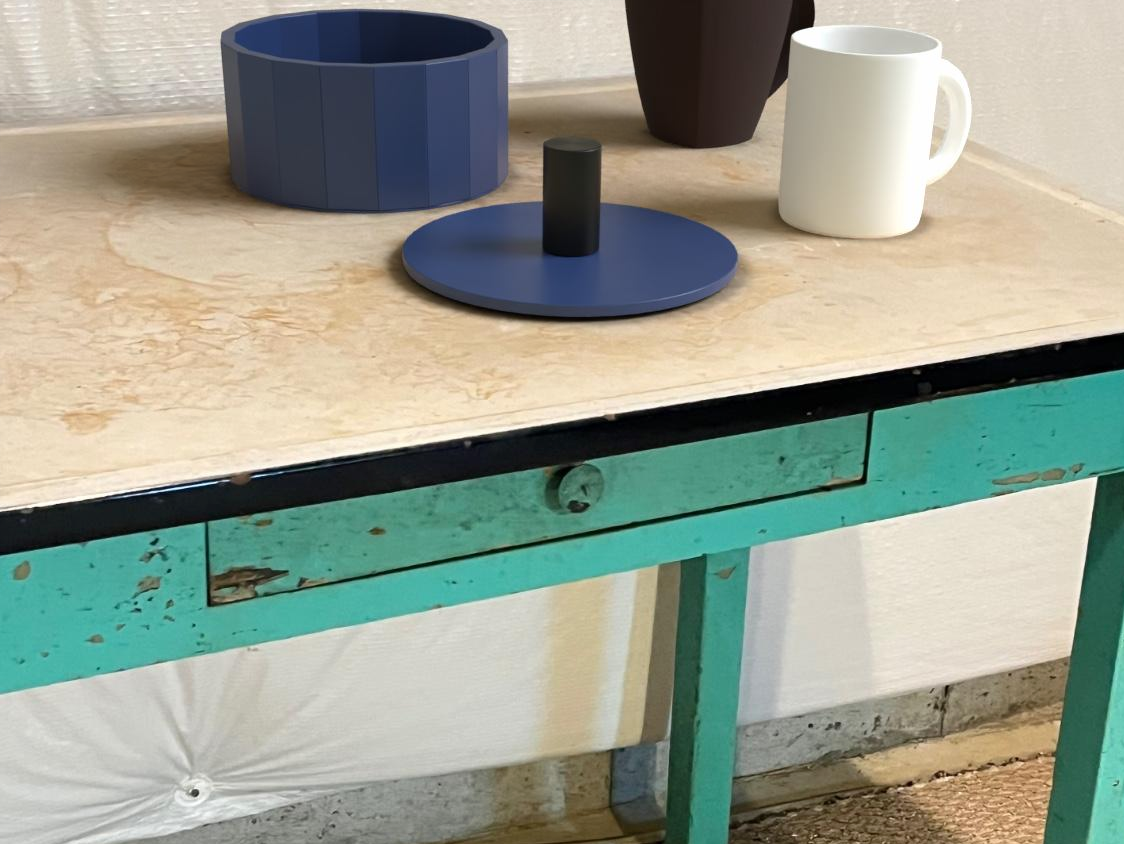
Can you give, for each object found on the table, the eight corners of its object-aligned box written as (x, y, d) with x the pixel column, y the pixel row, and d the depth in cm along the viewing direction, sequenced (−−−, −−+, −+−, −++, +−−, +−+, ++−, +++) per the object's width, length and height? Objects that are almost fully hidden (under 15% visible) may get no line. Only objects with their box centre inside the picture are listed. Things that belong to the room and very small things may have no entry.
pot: (172, 188, 101) (158, 41, 97) (347, 131, 114) (340, -2, 110) (399, 237, 94) (394, 80, 90) (558, 170, 107) (560, 30, 103)
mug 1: (596, 134, 115) (600, -54, 109) (748, 108, 122) (760, -69, 116) (691, 168, 108) (702, -31, 102) (846, 138, 115) (864, -49, 110)
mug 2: (916, 190, 105) (937, 16, 100) (1001, 228, 98) (1028, 44, 93) (750, 211, 100) (762, 30, 95) (827, 252, 93) (845, 59, 88)
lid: (334, 284, 87) (327, 153, 83) (519, 203, 100) (519, 88, 97) (634, 355, 79) (639, 214, 76) (791, 257, 93) (801, 133, 89)
